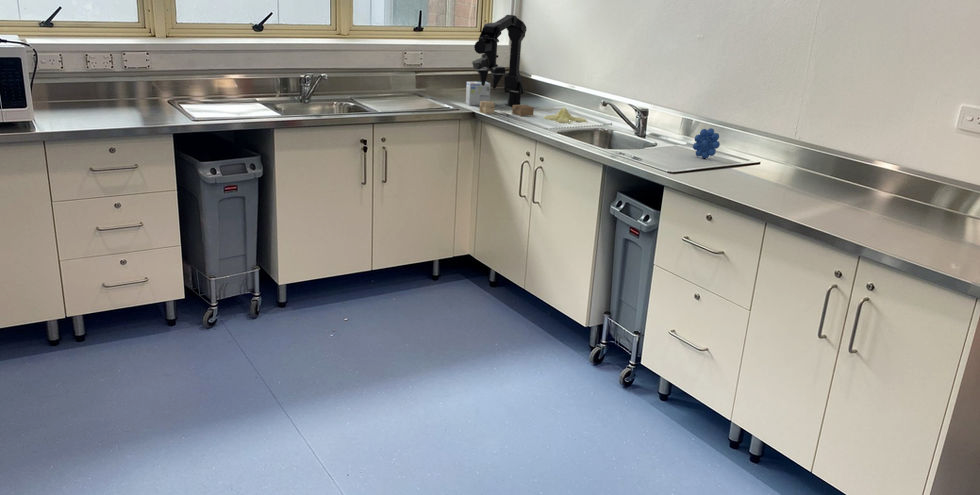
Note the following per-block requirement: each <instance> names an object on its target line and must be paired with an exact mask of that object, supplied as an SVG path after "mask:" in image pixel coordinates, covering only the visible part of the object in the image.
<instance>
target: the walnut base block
mask: <svg viewBox="0 0 980 495" xmlns="http://www.w3.org/2000/svg"><path fill="white" fill-rule="evenodd" d="M511 114H512V115H515V116H518V115H519V116H518V117H526V116H525V115H533V116H534V106H531V105H527V104H520V105H513V107H512V110H511Z"/></svg>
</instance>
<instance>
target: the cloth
mask: <svg viewBox="0 0 980 495" xmlns="http://www.w3.org/2000/svg"><path fill="white" fill-rule="evenodd" d="M568 110H569V109H567V108H566V107H562V108H561V109H560V110H559V111H558V112H557V113H555V114H551V115H548V114H547V115H545V116H544V117H543V118H544V119H550V120H549V121H554V123H556V122H559V123H558V124H565V123H568V124H567V125H571V124H570V123H571V122H573V121H577V122H576V123H581V122H588V120H587V119H585V118H583V117H580V116H579V117H577V116H572V115H571V114H570V112H569V111H568ZM569 120H572V121H569Z"/></svg>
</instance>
